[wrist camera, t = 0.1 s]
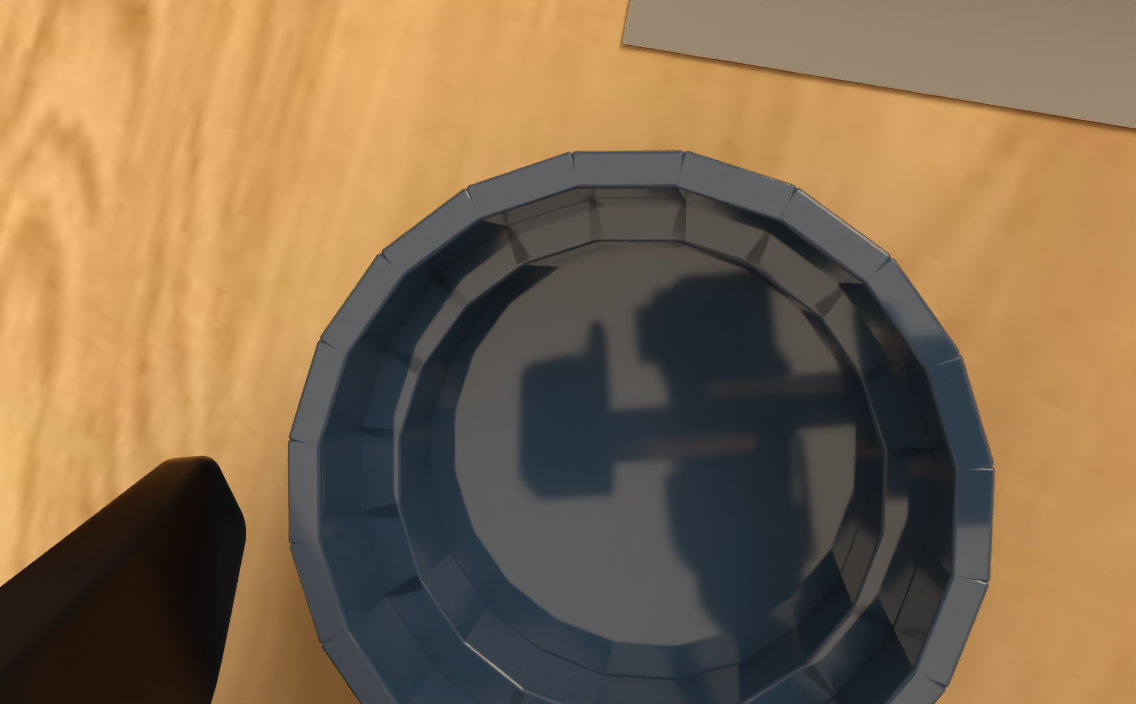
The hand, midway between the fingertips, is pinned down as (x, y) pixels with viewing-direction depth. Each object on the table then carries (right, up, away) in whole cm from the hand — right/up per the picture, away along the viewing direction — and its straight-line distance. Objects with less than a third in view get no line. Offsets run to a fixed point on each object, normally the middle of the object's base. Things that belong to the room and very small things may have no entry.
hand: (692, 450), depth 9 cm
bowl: (+1, -2, +15) cm, 15 cm away
